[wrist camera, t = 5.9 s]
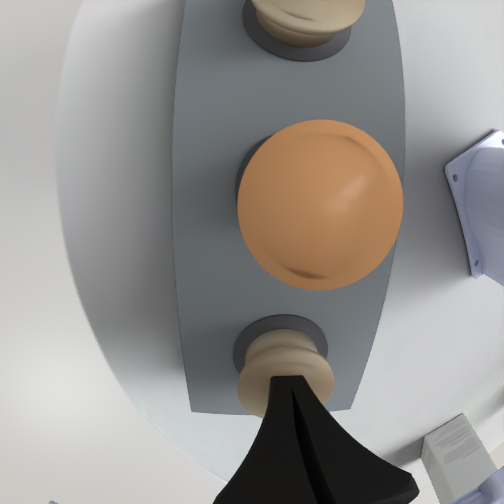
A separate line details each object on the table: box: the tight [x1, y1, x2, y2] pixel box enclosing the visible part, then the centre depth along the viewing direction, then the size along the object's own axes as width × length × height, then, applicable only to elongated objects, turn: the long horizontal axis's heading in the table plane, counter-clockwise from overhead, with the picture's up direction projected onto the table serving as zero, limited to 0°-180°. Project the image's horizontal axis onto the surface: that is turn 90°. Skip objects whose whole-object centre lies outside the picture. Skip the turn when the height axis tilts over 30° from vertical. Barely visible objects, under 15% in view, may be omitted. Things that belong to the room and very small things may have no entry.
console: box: [172, 0, 405, 415], centre depth 13 cm, size 26×10×4 cm, turn 178°
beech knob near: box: [251, 0, 365, 47], centre depth 7 cm, size 4×4×2 cm
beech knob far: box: [237, 329, 335, 418], centre depth 12 cm, size 4×4×2 cm
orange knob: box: [237, 119, 403, 291], centre depth 7 cm, size 4×4×2 cm
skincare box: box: [421, 413, 498, 504], centre depth 17 cm, size 8×7×16 cm
